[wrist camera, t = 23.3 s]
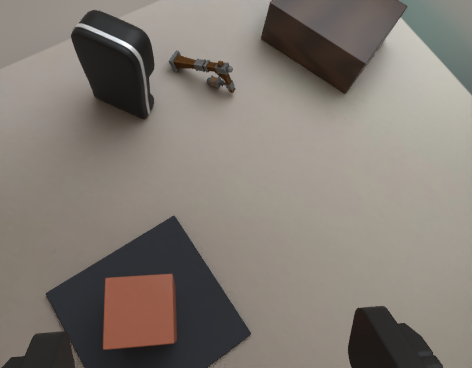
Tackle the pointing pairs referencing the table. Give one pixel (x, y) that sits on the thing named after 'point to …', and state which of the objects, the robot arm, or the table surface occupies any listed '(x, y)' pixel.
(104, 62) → the battery charger
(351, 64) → the storage box
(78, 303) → the mat
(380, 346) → the robot arm
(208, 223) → the table surface
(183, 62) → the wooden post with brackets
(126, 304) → the small box
